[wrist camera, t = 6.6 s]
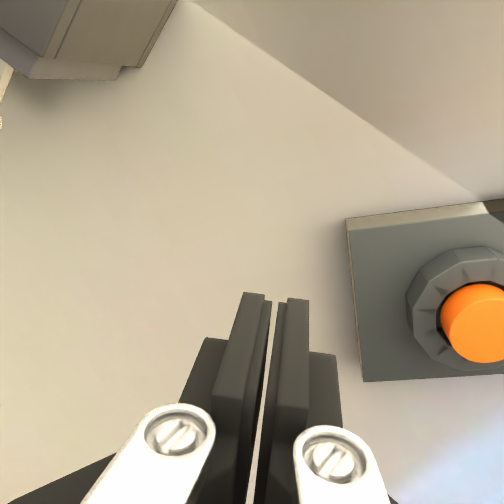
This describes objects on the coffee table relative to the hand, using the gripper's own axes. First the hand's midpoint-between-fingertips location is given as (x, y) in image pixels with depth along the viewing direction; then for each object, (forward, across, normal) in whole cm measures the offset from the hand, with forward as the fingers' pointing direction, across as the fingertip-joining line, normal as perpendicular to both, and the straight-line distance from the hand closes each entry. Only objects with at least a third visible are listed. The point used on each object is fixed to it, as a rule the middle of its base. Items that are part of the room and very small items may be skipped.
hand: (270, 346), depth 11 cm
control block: (+15, -10, +4) cm, 19 cm away
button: (+12, -10, +4) cm, 16 cm away
